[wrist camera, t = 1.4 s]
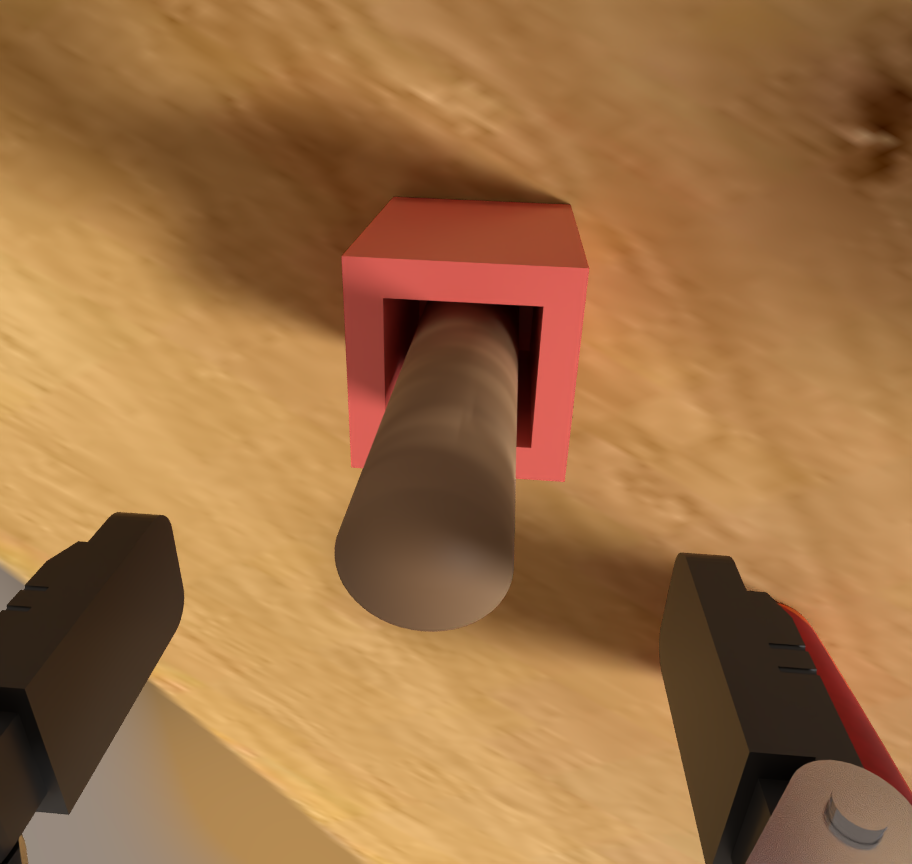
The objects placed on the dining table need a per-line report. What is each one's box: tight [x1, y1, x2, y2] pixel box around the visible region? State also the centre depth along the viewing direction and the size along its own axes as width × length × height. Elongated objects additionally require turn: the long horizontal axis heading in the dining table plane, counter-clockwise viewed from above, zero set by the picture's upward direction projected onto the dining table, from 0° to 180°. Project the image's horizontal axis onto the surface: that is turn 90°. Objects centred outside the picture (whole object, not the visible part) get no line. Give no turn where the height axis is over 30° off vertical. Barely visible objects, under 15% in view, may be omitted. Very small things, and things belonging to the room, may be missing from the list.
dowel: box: [335, 300, 519, 632], centre depth 19 cm, size 3×3×15 cm
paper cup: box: [778, 603, 912, 805], centre depth 27 cm, size 8×8×14 cm
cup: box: [342, 197, 589, 482], centre depth 22 cm, size 6×6×8 cm
